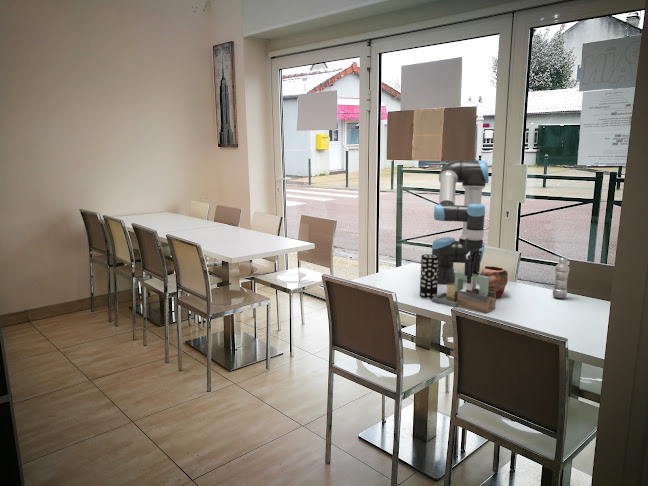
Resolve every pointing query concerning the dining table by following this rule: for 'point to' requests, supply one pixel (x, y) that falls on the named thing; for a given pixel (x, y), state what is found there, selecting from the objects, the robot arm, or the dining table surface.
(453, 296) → the brass block
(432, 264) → the spotted tube
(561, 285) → the plastic bottle
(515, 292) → the dining table surface
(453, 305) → the tray
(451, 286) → the yellow rock
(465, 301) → the slot ledge
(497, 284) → the decorative planter
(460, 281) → the mint green arch block
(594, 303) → the dining table surface
